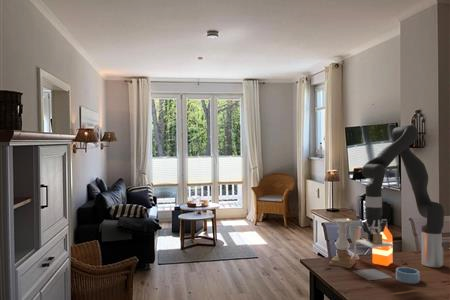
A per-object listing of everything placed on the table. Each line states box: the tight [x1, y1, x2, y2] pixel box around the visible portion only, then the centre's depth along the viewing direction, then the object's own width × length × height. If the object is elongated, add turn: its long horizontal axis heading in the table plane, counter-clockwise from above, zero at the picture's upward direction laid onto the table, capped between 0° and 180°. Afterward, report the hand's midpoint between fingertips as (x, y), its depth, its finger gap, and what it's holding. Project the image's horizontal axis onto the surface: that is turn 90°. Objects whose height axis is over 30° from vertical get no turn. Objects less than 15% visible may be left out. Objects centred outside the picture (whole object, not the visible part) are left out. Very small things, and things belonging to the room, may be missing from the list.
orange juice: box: [371, 225, 394, 267], centre depth 194 cm, size 8×9×20 cm
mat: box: [352, 268, 393, 281], centre depth 176 cm, size 13×13×1 cm
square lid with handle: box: [356, 231, 394, 249], centre depth 176 cm, size 12×12×5 cm
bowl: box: [395, 266, 421, 285], centre depth 169 cm, size 10×10×5 cm
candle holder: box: [329, 217, 357, 269], centre depth 192 cm, size 11×11×24 cm
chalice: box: [348, 224, 362, 261], centre depth 202 cm, size 7×7×18 cm
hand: (374, 241), depth 176 cm, fingers closed on square lid with handle, 3 cm apart
